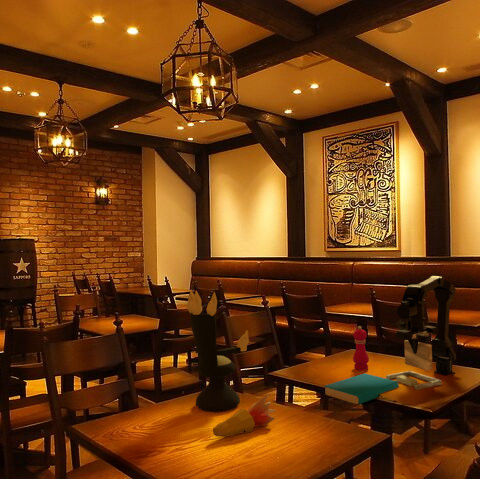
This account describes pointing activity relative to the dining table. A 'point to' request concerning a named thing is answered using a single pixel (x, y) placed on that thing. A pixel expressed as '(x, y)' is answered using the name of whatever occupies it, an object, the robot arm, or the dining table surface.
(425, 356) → the sheet
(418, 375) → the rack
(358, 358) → the pepper mill
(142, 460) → the dining table surface
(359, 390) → the book
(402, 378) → the offcut top
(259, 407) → the torch
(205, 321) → the candelabra
